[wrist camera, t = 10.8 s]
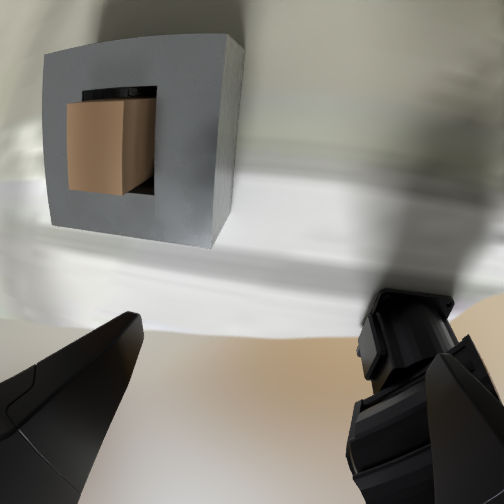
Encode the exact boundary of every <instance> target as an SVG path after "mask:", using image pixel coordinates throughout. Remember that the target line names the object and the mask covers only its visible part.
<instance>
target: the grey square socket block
mask: <svg viewBox="0 0 504 504" xmlns="http://www.w3.org/2000/svg"><path fill="white" fill-rule="evenodd" d="M244 56H245V50H244V49H243V48H242V47H241V46H240V45H239V44H238V43H237V42H236V41H235V40H234V39H233V38H232V37H230V36H229V35H228V34H225V33H196V34H171V35H157V36H145V37H136V38H128V39H120V40H113V41H107V42H101V43H95V44H89V45H84V46H79V47H75V48H70V49H66V50H61V51H57V52H53V53H49V54H46V55H44V68H43V90H42V128H43V151H44V165H45V176H46V185H47V194H48V202H49V209H50V216H51V222H52V225H54V226H61V227H68V228H74V229H81V230H87V231H94V232H101V233H108V234H114V235H121V236H128V237H134V238H141V239H148V240H154V241H161V242H168V243H175V244H181V245H188V246H195V247H202V248H209V249H211V248H212V246H213V244H214V243H215V241H216V239H217V237H218V235H219V233H220V231H221V229H222V227H223V225H224V224H225V222H226V220H227V218H228V216H229V214H230V211H231V198H232V186H233V173H234V161H235V150H236V138H237V127H238V116H239V106H240V95H241V85H242V75H243V66H244ZM142 87H157V100H156V120H155V158H154V175H153V176H152V177H150V178H149V179H147V180H145V181H144V182H142V183H141V184H139V185H138V186H136V187H135V188H133V189H132V190H130V191H129V192H127V193H126V194H124V195H123V196H120V195H112V194H104V193H95V192H86V191H77V190H69V182H68V164H67V104H69V103H75V102H83V101H90V100H99V99H108V98H118V97H128V92H129V88H142Z"/></svg>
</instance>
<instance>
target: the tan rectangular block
mask: <svg viewBox="0 0 504 504" xmlns="http://www.w3.org/2000/svg"><path fill="white" fill-rule="evenodd" d="M156 100H157V96H131V97H118V98H108V99H99V100H90V101H83V102H75V103H69V104H67V164H68V182H69V190H77V191H86V192H95V193H104V194H112V195H120V196H123V195H124V194H126V193H127V192H129V191H130V190H132V189H133V188H135V187H136V186H138V185H139V184H141V183H142V182H144V181H145V180H147V179H149V178H150V177H152V176H153V175H154V158H155V120H156Z"/></svg>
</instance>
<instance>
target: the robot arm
mask: <svg viewBox="0 0 504 504" xmlns="http://www.w3.org/2000/svg"><path fill="white" fill-rule="evenodd" d="M384 295H388V296H387V297H383V296H384ZM448 302H449V304H447V303H448ZM453 306H454V300H453V299H452V297H450V296H442V295H434V294H426V293H418V292H410V291H402V290H394V289H383V290H381V291H380V292H379V294H378V297H377V299H376V302H375V305H374V308H373V310H372V313H371V314H369V315H368V316H367V318H366V321H365V324H364V326H363V329H362V331H361V334H360V336H359V339H358V343H359V345H358V347H357V355H358V357H361V359H362V366H363V371H364V377H365V379H366V380H371V382H372V388H373V394H374V395H372V396H370V397H368V398H366V399H364V400H363V399H362V400H360V401H358V402H356V403H355V405H354V411H353V416H352V421H351V427H350V431H349V436H348V441H347V447H346V458H347V461H348V465H349V468H350V470H351V472H352V474H353V480H354V482H355V483H356V485H357V486H358V488H359V489H360V491H361V493H362V495H363V497H364V499H365V502H366V504H504V406H503V404H502V402H501V399H500V396H499V394H498V392H497V389H496V387H495V385H494V383H493V380H492V378H491V376H490V374H489V372H488V370H487V368H486V366H485V364H484V362H483V360H482V358H481V356H480V354H479V352H478V350H477V348H476V346H475V345H474V343H473V341H472V339H471V337H470V336H469V334H468V335H467V336H466V337H464V338H463V339H462V341H461V342H458V340H457V338H456V336H455V334H454V332H453V330H452V328H451V326H450V324H449V322H448V320H447V318H448V316H449V314H450V312H451V310H452V308H453ZM143 340H144V332H143V325H142V319H141V316H140V314H138V313H134V312H130V311H127V312H125V313H123V314H121V315H119V316H118V317H116V318H114V319H112V320H111V321H109V322H107V323H105V324H104V325H102V326H100V327H98V328H97V329H95V330H93V331H91V332H90V333H88V334H86V335H85V336H83V337H81V338H79V339H78V340H76V341H74V342H72V343H71V344H69V345H67V346H65V347H64V348H62V349H60V350H59V351H57V352H55V353H53V354H52V355H50V356H48V357H46V358H45V359H43V360H41V361H40V362H38V363H37V365H33V366H31V367H29V368H28V369H26V370H24V371H22V372H20V373H19V374H17V375H15V376H13V377H11V378H9V379H7V380H5V381H3V382H1V383H0V504H78V501H79V498H80V496H81V494H80V493H82V490H83V488H84V485H85V483H86V480H87V478H88V475H89V473H90V471H91V468H92V466H93V463H94V461H95V459H96V456H97V454H98V451H99V449H100V447H101V445H102V442H103V440H104V437H105V435H106V433H107V431H108V429H109V426H110V424H111V422H112V419H113V417H114V415H115V413H116V411H117V408H118V406H119V404H120V402H121V400H122V397H123V395H124V393H125V391H126V389H127V386H128V384H129V381H130V378H131V376H132V373H133V369H134V367H135V364H136V360H137V358H138V355H139V352H140V349H141V346H142V343H143Z"/></svg>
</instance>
